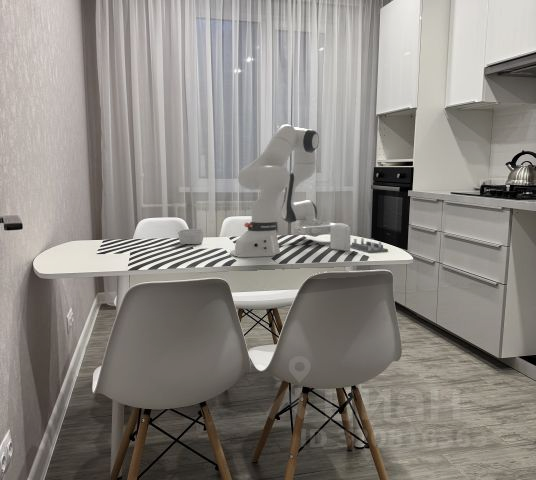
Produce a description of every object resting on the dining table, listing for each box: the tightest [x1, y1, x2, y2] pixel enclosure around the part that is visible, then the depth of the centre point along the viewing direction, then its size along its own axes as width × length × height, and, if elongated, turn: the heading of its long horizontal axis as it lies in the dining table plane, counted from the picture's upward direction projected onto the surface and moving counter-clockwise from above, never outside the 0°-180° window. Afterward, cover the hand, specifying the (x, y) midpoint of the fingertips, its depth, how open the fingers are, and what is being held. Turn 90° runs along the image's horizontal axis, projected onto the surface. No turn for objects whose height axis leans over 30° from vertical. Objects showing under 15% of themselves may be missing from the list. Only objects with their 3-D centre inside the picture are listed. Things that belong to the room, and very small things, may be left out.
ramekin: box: [177, 228, 205, 245], centre depth 241 cm, size 13×13×7 cm
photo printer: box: [329, 222, 351, 252], centre depth 217 cm, size 10×4×12 cm, turn 39°
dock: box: [350, 237, 389, 254], centre depth 219 cm, size 10×18×4 cm, turn 22°
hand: (326, 231), depth 229 cm, fingers open, 8 cm apart
